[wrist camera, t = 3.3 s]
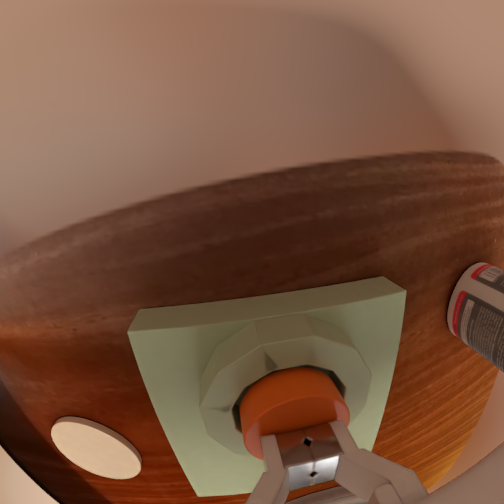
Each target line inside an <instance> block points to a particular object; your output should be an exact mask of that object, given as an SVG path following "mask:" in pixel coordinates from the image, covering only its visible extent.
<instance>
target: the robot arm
mask: <svg viewBox="0 0 504 504" xmlns="http://www.w3.org/2000/svg"><path fill="white" fill-rule="evenodd" d="M260 441H261V449H262V456H263V462H264V468H265V472H263V474H262V476H261V477H260V479H259V481H258V483H257V485H256V486H255V488H254V490H253V491H252V493H251V495H250V496H249V498H248V500H247V501H246V503H245V504H284V503H285V501H286V498H287V496H288V494H289V491H291V490H295V489H299V488H303V487H307V486H311V485H315V484H320V483H324V482H328V481H332V480H334V481H335V482H337V483H338V484H340V485H341V486H343V487H344V488H346V489H347V490H349V491H350V492H352V493H353V494H355V495H356V496H358V497H360V498H361V499H363V500H364V501H366V502H367V504H504V442H503V443H501V444H500V445H499V446H498V447H497V448H495V449H494V450H493V451H492V452H491V453H489V454H488V455H487V456H486V457H484V458H483V459H482V460H480V461H479V462H478V463H477V464H475V465H474V466H472V467H471V468H469V469H468V470H467V471H465V472H464V473H462V474H461V475H459V476H458V477H456V478H455V479H453V480H452V481H450V482H448V483H447V484H446V485H444V486H442V487H440V488H439V489H437V490H435V491H434V492H432V493H430V494H428V492H427V491H426V489H425V488H424V486H423V485H422V483H421V481H420V480H419V478H418V477H417V475H416V474H415V472H414V471H413V470H411V469H409V468H406V467H404V466H401V465H399V464H397V463H394V462H392V461H390V460H387V459H385V458H383V457H381V456H379V455H376V454H374V453H372V452H370V451H368V450H366V449H364V448H361V449H359V448H358V446H357V445H356V443H355V441H354V439H353V437H352V435H351V434H350V432H349V430H348V428H347V426H346V425H345V423H344V421H343V420H342V419H339V420H336V421H332V422H329V423H324V424H320V425H316V426H312V427H308V428H304V429H301V430H297V431H291V432H285V433H279V434H275V435H274V434H273V435H266V436H260Z"/></svg>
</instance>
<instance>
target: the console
mask: <svg viewBox="0 0 504 504" xmlns="http://www.w3.org/2000/svg"><path fill="white" fill-rule="evenodd" d="M405 300H406V290H404V289H403V288H401V287H400V286H398V285H396V284H395V283H393V282H392V281H390V280H388V279H387V278H385V277H383V276H381V277H376V278H370V279H365V280H359V281H353V282H348V283H342V284H336V285H330V286H324V287H317V288H311V289H304V290H298V291H291V292H284V293H277V294H270V295H263V296H255V297H248V298H240V299H232V300H224V301H215V302H207V303H198V304H188V305H179V306H169V307H158V308H147V309H139V310H138V312H137V314H136V316H135V318H134V320H133V321H132V323H131V325H130V327H129V329H128V331H127V333H128V336H129V340H130V343H131V346H132V349H133V352H134V355H135V358H136V361H137V364H138V367H139V370H140V373H141V375H142V378H143V381H144V384H145V386H146V389H147V392H148V394H149V397H150V399H151V402H152V404H153V407H154V409H155V411H156V414H157V416H158V418H159V421H160V423H161V425H162V428H163V430H164V432H165V434H166V436H167V438H168V441H169V443H170V445H171V447H172V449H173V451H174V453H175V455H176V457H177V459H178V461H179V463H180V465H181V467H182V469H183V471H184V472H185V474H186V476H187V478H188V480H189V482H190V483H191V485H192V487H193V489H194V490H195V492H196V494H197V496H221V495H234V494H244V493H252V491H253V490H254V488H255V486H256V485H257V483H258V481H259V479H260V477H261V476H262V474H263V472H265V468H264V462H263V460H261V459H258V458H256V457H254V456H253V455H252V454H251V453H250V452H249V451H248V450H247V449H246V447H245V445H244V441H243V434H242V427H241V420H240V411H239V408H240V403H241V400H242V398H243V396H244V394H245V393H246V392H247V390H248V389H249V388H250V387H251V386H252V385H253V384H254V383H256V382H257V381H258V380H260V379H261V378H263V377H265V376H267V375H269V374H271V373H273V372H276V371H279V370H283V369H287V368H294V367H305V368H312V369H316V370H319V371H321V372H323V373H325V374H326V375H328V376H329V377H330V378H331V379H332V381H333V382H334V384H335V386H336V387H337V389H338V391H339V393H340V394H341V396H342V398H343V399H344V401H345V403H346V405H347V406H348V408H349V411H350V422H349V426H348V430H349V432H350V434H351V435H352V437H353V439H354V441H355V443H356V445H357V446H358V448H359V449H361V448H364V449H366V450H368V451H370V452H371V451H372V448H373V445H374V442H375V439H376V436H377V433H378V430H379V426H380V423H381V420H382V416H383V413H384V409H385V405H386V402H387V398H388V394H389V390H390V386H391V382H392V377H393V373H394V368H395V363H396V358H397V353H398V348H399V342H400V336H401V330H402V323H403V316H404V309H405Z"/></svg>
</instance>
